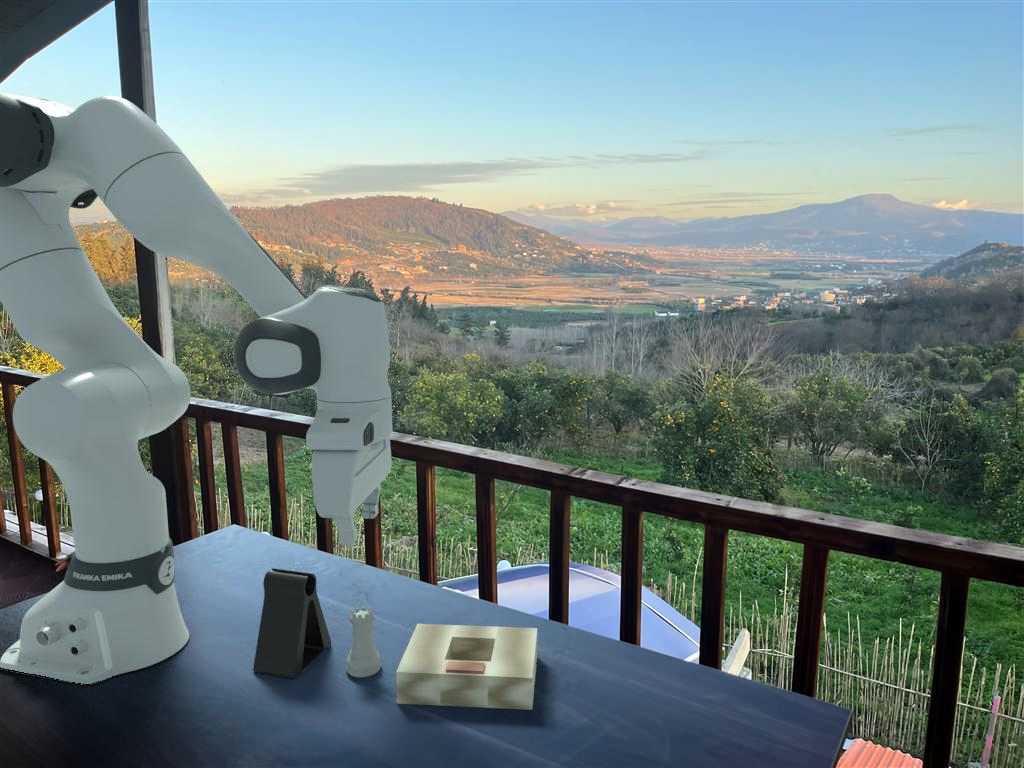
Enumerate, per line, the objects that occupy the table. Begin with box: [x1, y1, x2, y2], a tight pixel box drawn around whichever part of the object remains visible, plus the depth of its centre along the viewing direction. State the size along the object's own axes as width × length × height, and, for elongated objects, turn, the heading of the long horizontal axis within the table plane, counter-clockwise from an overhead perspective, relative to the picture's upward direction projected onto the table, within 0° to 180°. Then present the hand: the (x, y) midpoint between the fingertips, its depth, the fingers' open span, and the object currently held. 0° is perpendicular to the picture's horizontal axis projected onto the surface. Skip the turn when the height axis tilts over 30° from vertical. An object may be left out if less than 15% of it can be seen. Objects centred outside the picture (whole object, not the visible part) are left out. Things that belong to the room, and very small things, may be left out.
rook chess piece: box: [345, 606, 382, 679], centre depth 93 cm, size 4×4×8 cm
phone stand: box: [252, 567, 332, 680], centre depth 95 cm, size 9×6×12 cm, turn 163°
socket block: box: [395, 623, 538, 711], centre depth 91 cm, size 16×12×4 cm
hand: (359, 529), depth 91 cm, fingers open, 8 cm apart
